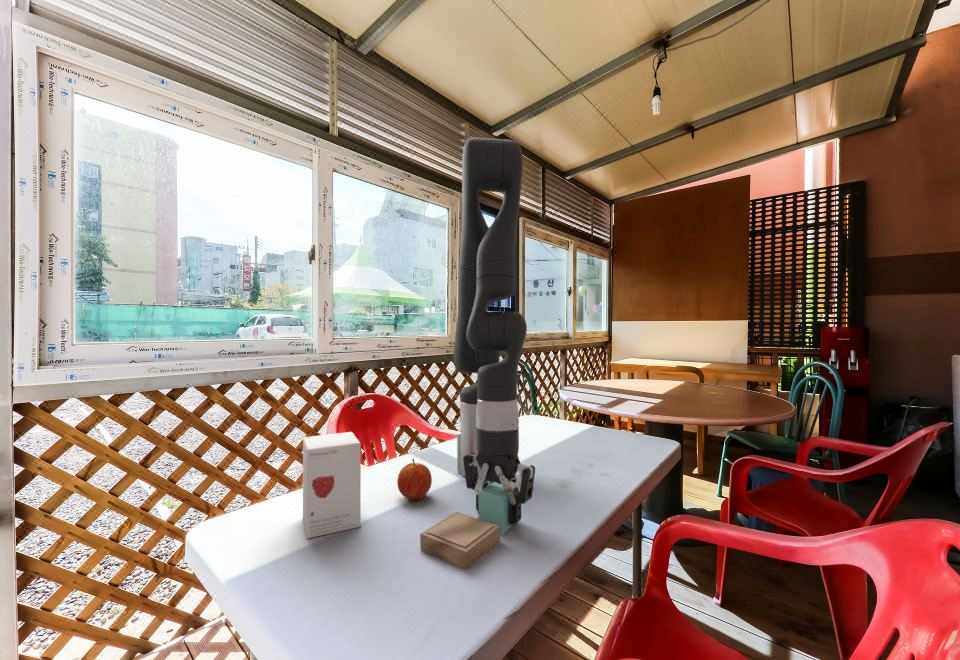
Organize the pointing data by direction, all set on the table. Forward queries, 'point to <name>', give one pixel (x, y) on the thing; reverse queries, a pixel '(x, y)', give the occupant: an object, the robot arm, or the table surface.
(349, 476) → the supplement box
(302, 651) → the table surface
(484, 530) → the walnut base
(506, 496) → the teal block
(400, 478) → the fruit
